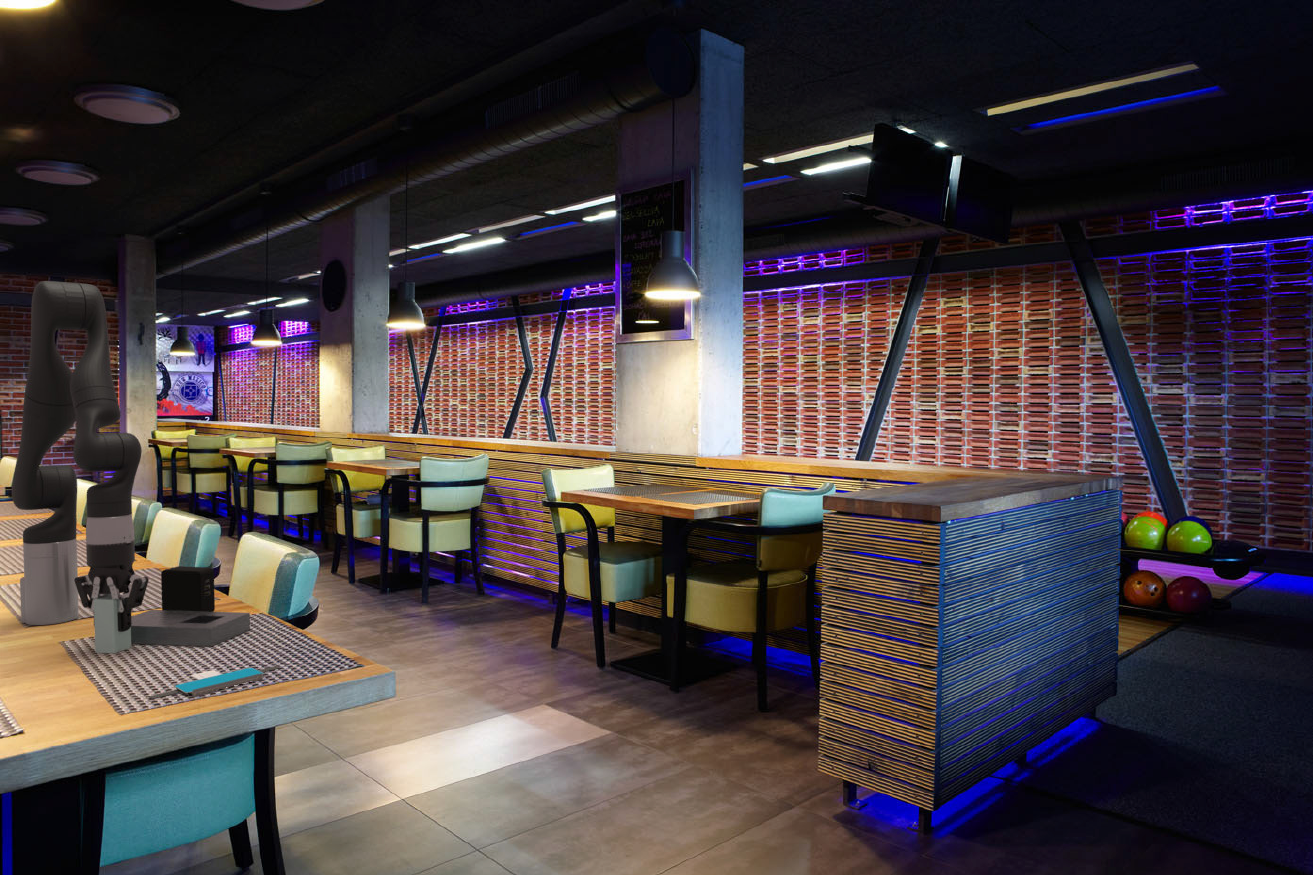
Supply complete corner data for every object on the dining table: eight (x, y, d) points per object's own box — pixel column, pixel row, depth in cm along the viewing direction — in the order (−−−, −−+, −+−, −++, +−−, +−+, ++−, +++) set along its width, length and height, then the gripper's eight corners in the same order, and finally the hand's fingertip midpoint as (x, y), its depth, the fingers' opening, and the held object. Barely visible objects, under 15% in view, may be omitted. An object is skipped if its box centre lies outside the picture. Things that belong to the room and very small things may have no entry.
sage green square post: (95, 652, 153) (93, 599, 152) (112, 646, 157) (110, 594, 156) (114, 653, 152) (113, 599, 152) (131, 647, 156) (129, 594, 156)
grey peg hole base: (106, 642, 159) (105, 624, 159) (152, 626, 171) (151, 609, 171) (210, 646, 156) (210, 628, 156) (250, 629, 168) (249, 612, 168)
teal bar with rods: (261, 662, 148) (261, 653, 148) (292, 676, 140) (292, 667, 140) (135, 692, 133) (135, 682, 133) (162, 709, 125) (162, 698, 125)
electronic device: (201, 616, 179) (200, 571, 178) (161, 614, 181) (160, 569, 180) (215, 612, 183) (214, 567, 183) (176, 610, 185) (175, 566, 185)
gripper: (59, 542, 151) (62, 634, 152) (129, 543, 149) (132, 637, 150) (92, 535, 158) (95, 624, 159) (159, 537, 157) (162, 626, 157)
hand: (113, 629), depth 154 cm, fingers closed on sage green square post, 4 cm apart
